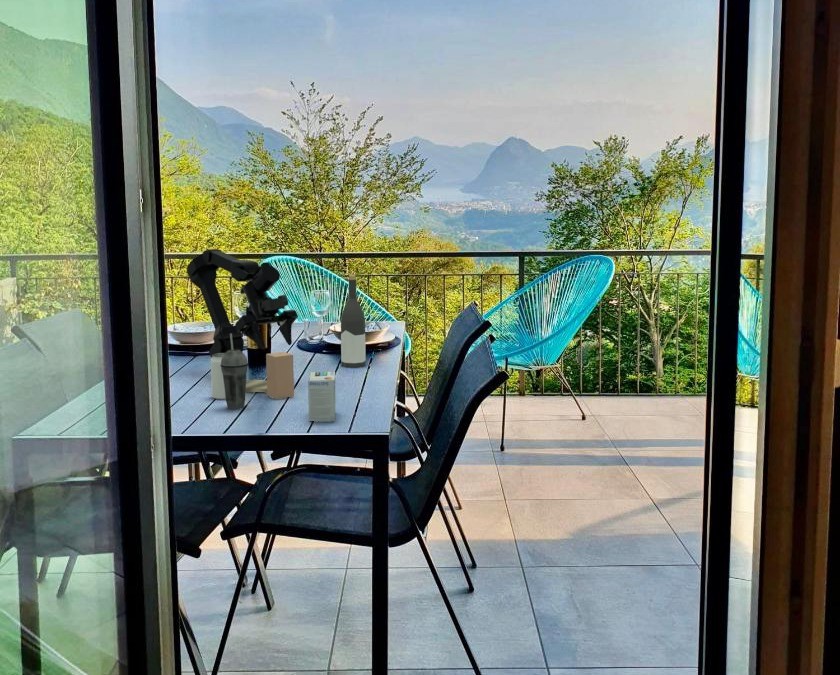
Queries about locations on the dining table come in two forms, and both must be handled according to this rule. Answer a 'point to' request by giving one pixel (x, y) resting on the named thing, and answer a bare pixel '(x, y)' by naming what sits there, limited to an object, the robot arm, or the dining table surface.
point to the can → (217, 377)
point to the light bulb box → (321, 396)
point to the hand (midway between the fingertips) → (277, 346)
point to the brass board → (256, 386)
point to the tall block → (280, 375)
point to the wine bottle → (353, 330)
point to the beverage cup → (234, 377)
